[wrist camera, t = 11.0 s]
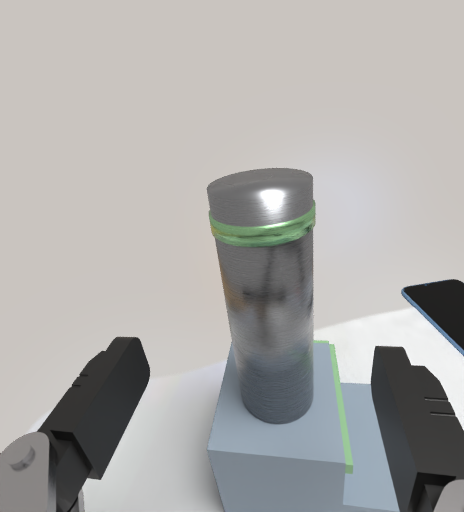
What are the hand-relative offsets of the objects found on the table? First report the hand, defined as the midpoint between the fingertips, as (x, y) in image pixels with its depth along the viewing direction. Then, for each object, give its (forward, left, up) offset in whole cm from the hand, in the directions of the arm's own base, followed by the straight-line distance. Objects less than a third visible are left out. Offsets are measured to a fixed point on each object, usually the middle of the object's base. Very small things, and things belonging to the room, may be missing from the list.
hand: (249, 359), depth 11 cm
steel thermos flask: (0, -5, -8) cm, 10 cm away
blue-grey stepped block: (-3, -6, -15) cm, 17 cm away
